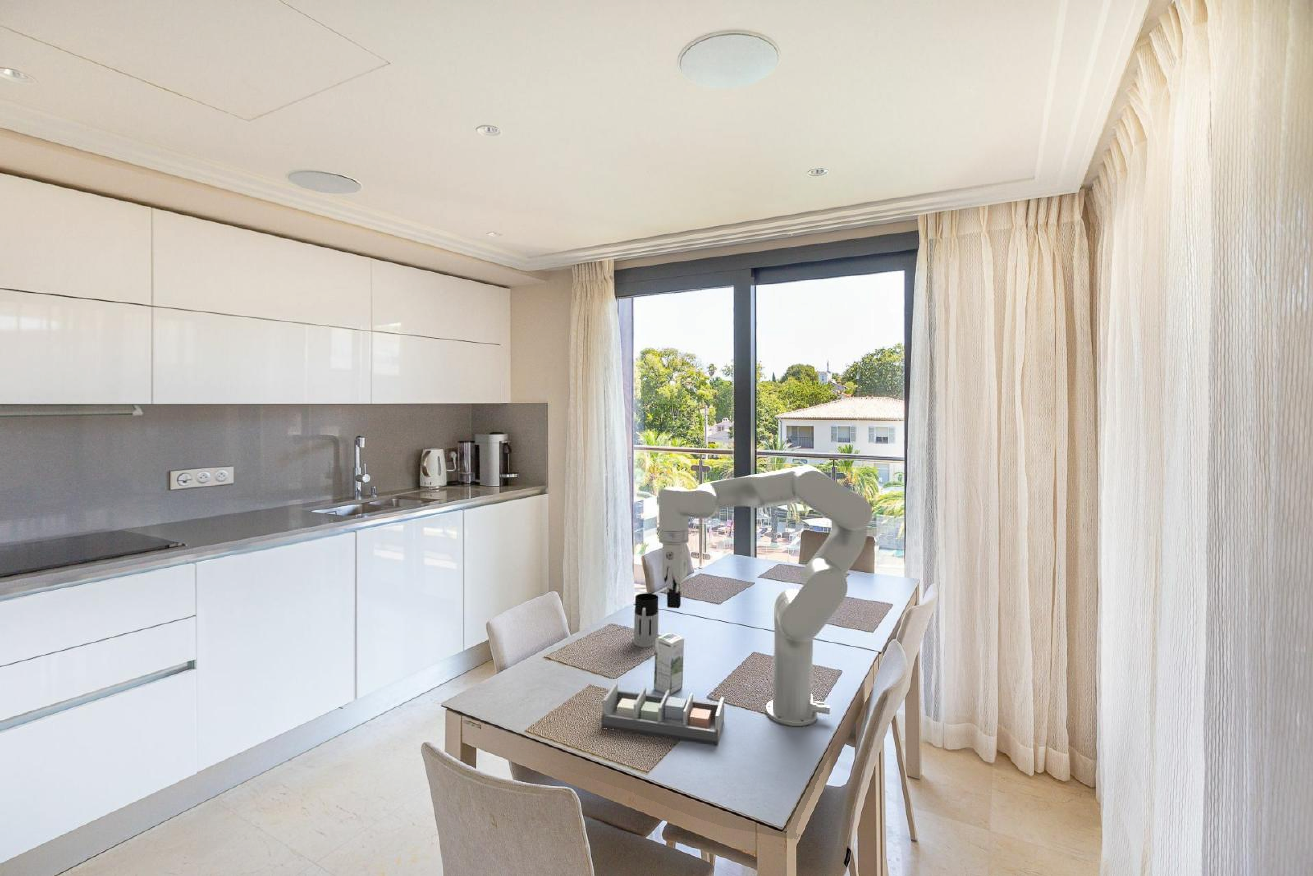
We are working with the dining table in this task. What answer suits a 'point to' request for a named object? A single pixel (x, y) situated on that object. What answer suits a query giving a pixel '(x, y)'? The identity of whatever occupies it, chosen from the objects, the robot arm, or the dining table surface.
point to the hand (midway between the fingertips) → (673, 606)
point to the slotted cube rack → (662, 718)
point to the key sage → (650, 711)
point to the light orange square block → (700, 718)
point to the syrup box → (668, 663)
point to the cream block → (626, 708)
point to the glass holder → (646, 620)
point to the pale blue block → (675, 708)
